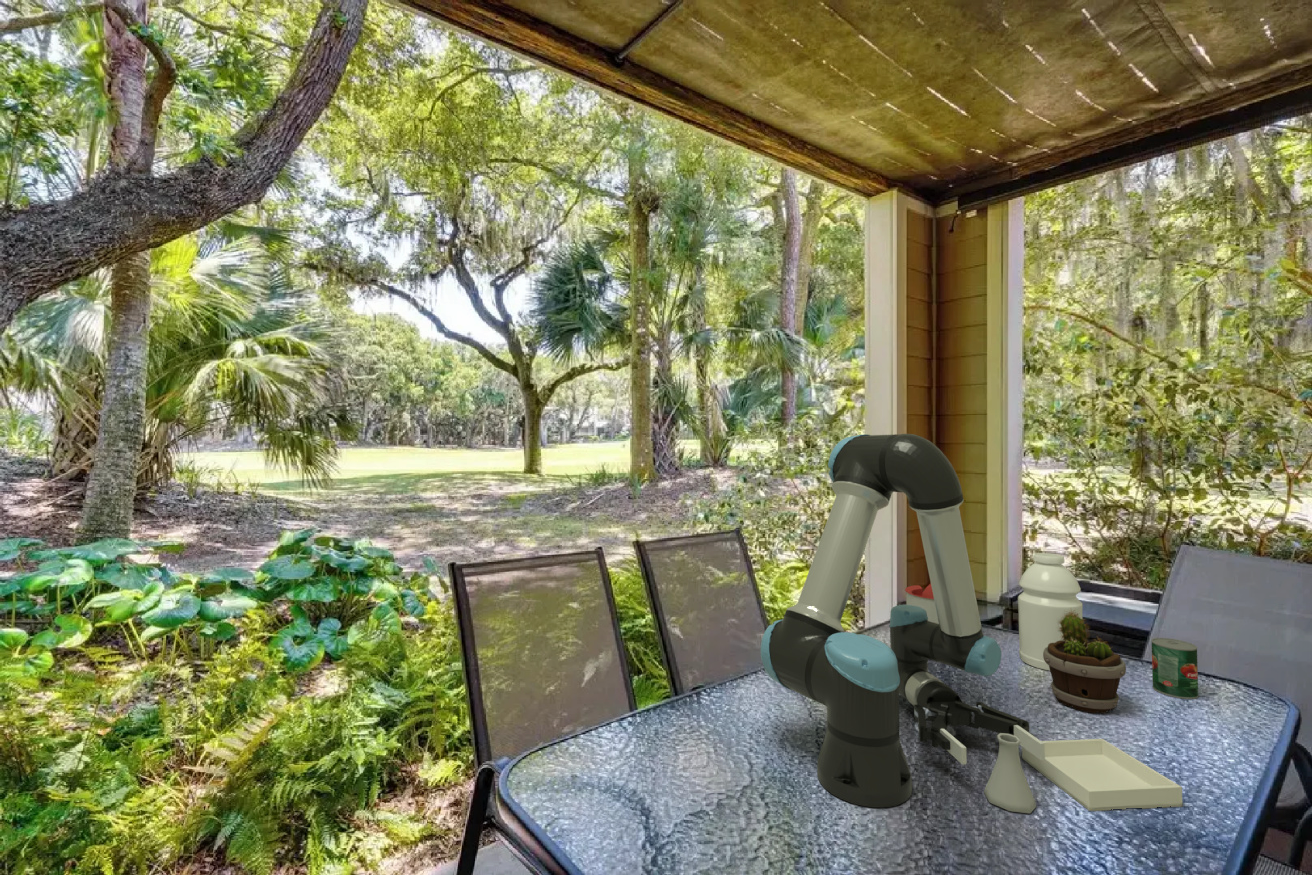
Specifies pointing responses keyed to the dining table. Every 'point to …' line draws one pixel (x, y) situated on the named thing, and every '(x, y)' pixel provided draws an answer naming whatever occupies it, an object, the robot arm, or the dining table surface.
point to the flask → (1009, 779)
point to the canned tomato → (1175, 668)
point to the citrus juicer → (922, 600)
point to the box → (1104, 776)
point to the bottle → (1045, 606)
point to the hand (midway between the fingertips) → (1003, 754)
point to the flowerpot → (1083, 668)
